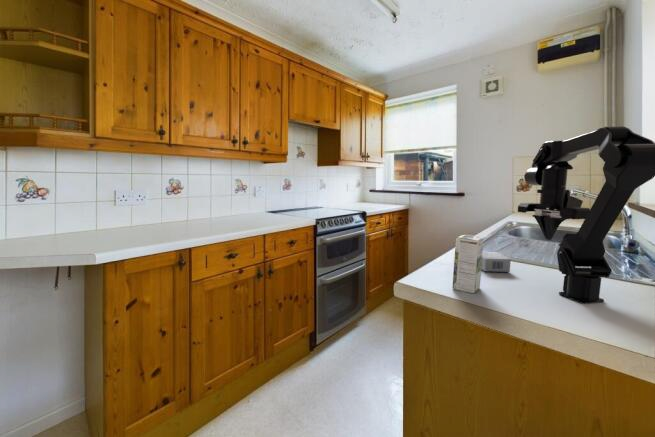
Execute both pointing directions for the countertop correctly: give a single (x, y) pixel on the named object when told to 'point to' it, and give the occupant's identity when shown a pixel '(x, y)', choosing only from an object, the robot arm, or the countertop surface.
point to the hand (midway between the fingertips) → (548, 239)
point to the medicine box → (495, 262)
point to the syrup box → (468, 263)
